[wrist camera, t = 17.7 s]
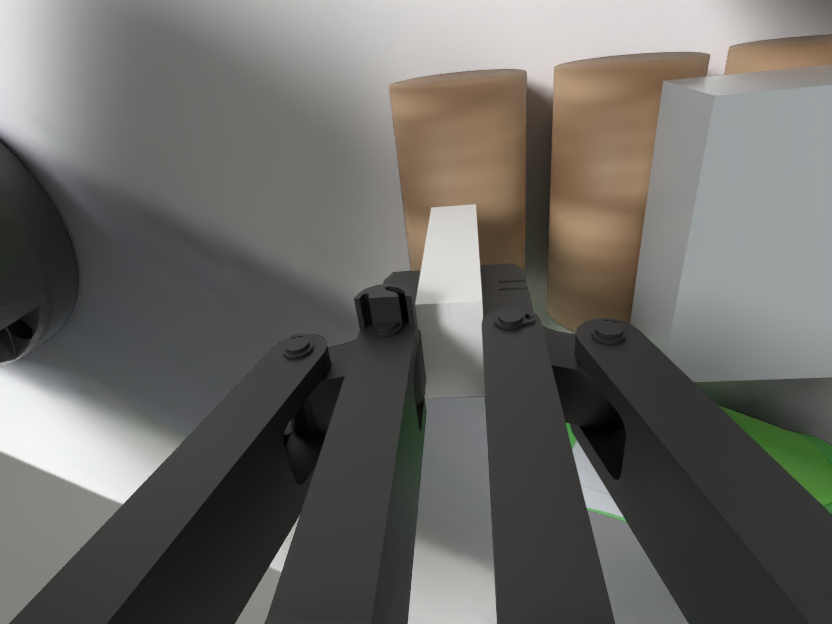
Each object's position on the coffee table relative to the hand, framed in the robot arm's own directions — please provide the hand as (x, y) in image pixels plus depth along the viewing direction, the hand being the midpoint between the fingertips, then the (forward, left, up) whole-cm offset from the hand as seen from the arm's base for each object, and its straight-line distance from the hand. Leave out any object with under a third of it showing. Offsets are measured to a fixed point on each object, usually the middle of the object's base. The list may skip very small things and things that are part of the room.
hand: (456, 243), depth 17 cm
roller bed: (+6, 0, -7) cm, 9 cm away
